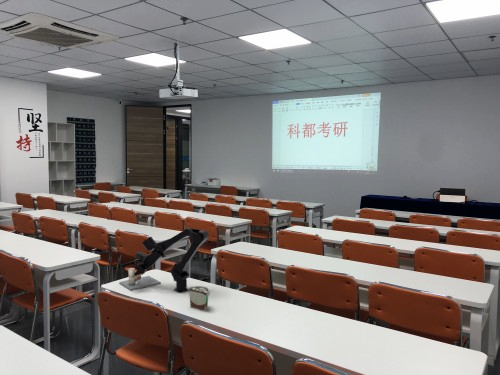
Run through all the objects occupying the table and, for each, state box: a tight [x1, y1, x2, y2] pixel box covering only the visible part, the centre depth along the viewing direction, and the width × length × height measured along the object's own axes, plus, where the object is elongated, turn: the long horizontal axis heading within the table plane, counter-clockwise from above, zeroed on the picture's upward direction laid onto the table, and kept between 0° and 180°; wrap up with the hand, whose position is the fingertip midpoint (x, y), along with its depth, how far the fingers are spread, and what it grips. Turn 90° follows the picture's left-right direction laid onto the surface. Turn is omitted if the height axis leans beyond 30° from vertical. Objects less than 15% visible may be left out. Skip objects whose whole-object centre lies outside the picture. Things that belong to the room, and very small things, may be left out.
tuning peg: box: [127, 267, 142, 285], centre depth 231 cm, size 13×4×9 cm, turn 176°
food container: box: [187, 285, 211, 312], centre depth 196 cm, size 12×6×10 cm, turn 58°
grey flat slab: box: [118, 275, 162, 292], centre depth 231 cm, size 16×19×1 cm
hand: (135, 275), depth 226 cm, fingers closed, pressing on tuning peg
